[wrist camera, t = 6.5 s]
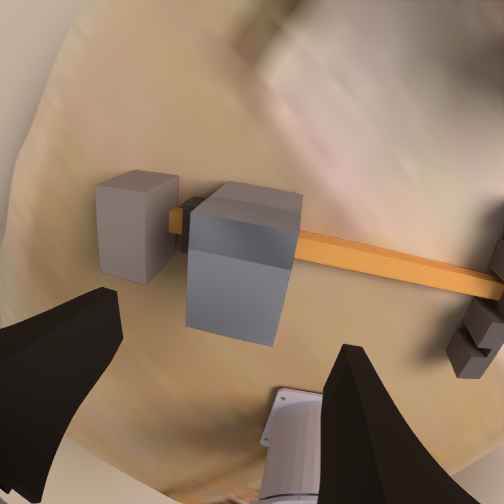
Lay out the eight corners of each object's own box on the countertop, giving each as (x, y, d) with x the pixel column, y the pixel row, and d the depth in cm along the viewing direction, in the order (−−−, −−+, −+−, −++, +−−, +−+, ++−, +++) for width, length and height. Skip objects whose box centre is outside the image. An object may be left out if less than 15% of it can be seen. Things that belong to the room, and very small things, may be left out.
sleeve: (284, 282, 18) (272, 346, 13) (218, 268, 19) (185, 325, 13) (302, 194, 16) (299, 233, 11) (228, 180, 16) (190, 211, 11)
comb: (467, 352, 18) (479, 379, 16) (445, 350, 19) (457, 378, 16) (533, 206, 13) (559, 222, 10) (512, 196, 13) (539, 211, 11)
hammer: (488, 316, 17) (510, 350, 13) (134, 244, 19) (100, 272, 16) (516, 254, 15) (547, 283, 11) (134, 170, 17) (95, 185, 14)
